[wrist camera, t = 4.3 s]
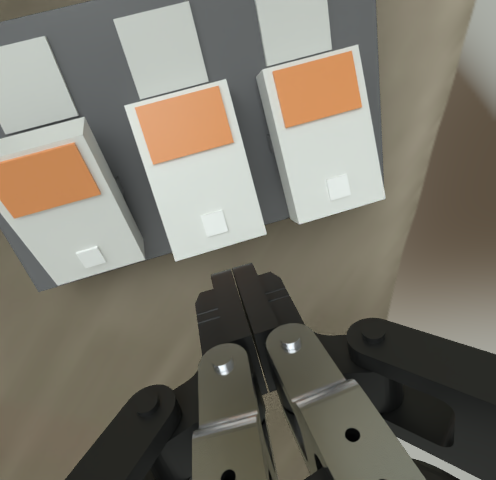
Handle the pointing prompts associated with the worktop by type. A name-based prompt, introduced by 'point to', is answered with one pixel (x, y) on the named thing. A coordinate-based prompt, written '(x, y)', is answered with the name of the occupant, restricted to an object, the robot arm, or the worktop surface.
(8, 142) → the rocker
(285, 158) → the block
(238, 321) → the robot arm
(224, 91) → the block
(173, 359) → the worktop surface
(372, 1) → the rocker switch panel
